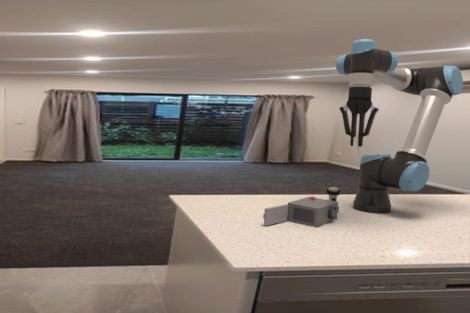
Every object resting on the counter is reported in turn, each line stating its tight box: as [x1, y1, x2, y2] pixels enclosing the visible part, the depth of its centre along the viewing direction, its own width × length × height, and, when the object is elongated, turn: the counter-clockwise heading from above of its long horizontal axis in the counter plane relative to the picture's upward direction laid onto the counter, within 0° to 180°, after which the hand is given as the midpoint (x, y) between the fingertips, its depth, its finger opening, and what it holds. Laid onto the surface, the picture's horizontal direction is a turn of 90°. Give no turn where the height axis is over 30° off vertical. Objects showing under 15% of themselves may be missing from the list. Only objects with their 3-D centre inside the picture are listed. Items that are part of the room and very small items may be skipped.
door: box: [262, 203, 288, 227], centre depth 138 cm, size 2×12×6 cm, turn 133°
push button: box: [326, 186, 341, 212], centre depth 157 cm, size 7×5×10 cm
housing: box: [286, 195, 339, 228], centre depth 145 cm, size 16×13×7 cm
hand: (355, 155), depth 138 cm, fingers closed
